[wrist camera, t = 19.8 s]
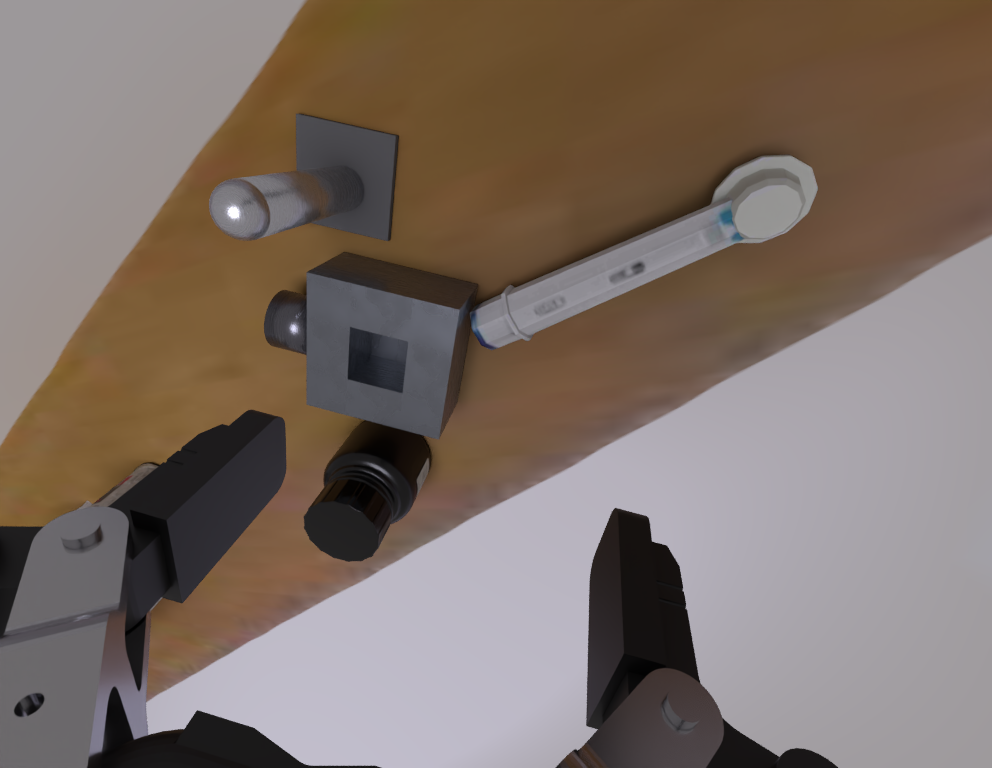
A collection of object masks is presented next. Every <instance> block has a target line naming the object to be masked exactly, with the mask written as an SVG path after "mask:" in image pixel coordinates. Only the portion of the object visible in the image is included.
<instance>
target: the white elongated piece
mask: <svg viewBox="0 0 992 768" xmlns="http://www.w3.org/2000/svg"><path fill="white" fill-rule="evenodd" d="M817 190H818V187H817V184H816V180H815V177H814V174H813V170H812V168H811V167H810V166H808V165H807V164H805V163H803V162H801V161H800V160H798V159H796V158H794V157H793V156H791V155H769V156H760V157H757V158H755V159H753V160H751V161H749V162H747V163H745V164H742V165H740V166H738V167H736V168H735V169H733V170H732V172H731V173H730V174H729V175H728V176H727V177H726V178H725V179H724V180H723V181H722V182H721V183H720V184H719V185H718V186H717V188H716V189H715V191H714V194H713V197H712V201H711V204H710V205H709V206H707V207H704V208H702V209H699V210H697V211H695V212H692V213H690V214H688V215H685V216H683V217H681V218H678V219H676V220H674V221H671V222H669V223H666V224H664V225H662V226H659V227H657V228H655V229H652V230H650V231H648V232H645V233H643V234H641V235H638V236H636V237H634V238H631V239H629V240H626V241H624V242H622V243H619V244H617V245H615V246H612V247H610V248H608V249H605V250H603V251H601V252H598V253H596V254H593V255H591V256H589V257H586V258H584V259H582V260H579V261H577V262H575V263H572V264H570V265H568V266H565V267H563V268H560V269H558V270H556V271H553V272H551V273H549V274H546V275H544V276H542V277H539V278H537V279H535V280H532V281H530V282H527V283H525V284H523V285H520V286H518V287H516V288H515V287H514V286H512V285H509V286H507V288H506V289H505V290H504V291H503V293H502V294H500V295H498V296H496V297H494V298H491V299H489V300H487V301H485V302H483V303H480V304H478V305H476V306H475V307H474V308H473V310H472V311H471V312H470V318H471V326H472V330H473V332H474V334H475V336H476V337H477V339H478V341H479V342H480V344H481V345H482V346H484V347H486V348H488V349H490V350H494V349H496V348H499V347H501V346H504V345H506V344H509V343H511V342H514V341H517V340H519V339H524V340H526V341H529V340H531V338H532V336H533V334H534V333H536V332H538V331H540V330H543V329H545V328H547V327H549V326H551V325H554V324H556V323H558V322H560V321H563V320H565V319H567V318H569V317H572V316H574V315H576V314H578V313H581V312H583V311H585V310H587V309H590V308H592V307H594V306H596V305H598V304H601V303H603V302H605V301H607V300H610V299H612V298H614V297H616V296H619V295H621V294H623V293H625V292H628V291H630V290H632V289H634V288H637V287H639V286H641V285H643V284H645V283H648V282H650V281H652V280H654V279H657V278H659V277H661V276H663V275H666V274H668V273H670V272H672V271H675V270H677V269H679V268H681V267H683V266H686V265H688V264H690V263H692V262H695V261H697V260H699V259H701V258H704V257H706V256H708V255H710V254H713V253H715V252H717V251H719V250H722V249H724V248H726V247H728V246H730V245H733V244H735V243H761V242H764V241H766V240H769V239H771V238H774V237H776V236H779V235H781V234H784V233H786V232H788V231H789V230H790V229H791V228H792V227H793V226H794V225H795V224H797V223H798V222H799V221H800V220H801V219H802V218H803V217H804V216H805V215H806V214H808V213H809V210H810V208H811V205H812V203H813V200H814V198H815V195H816V193H817Z"/></svg>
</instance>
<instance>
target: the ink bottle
mask: <svg viewBox="0 0 992 768" xmlns="http://www.w3.org/2000/svg"><path fill="white" fill-rule="evenodd" d="M430 465H431V456H430V452H429V449H428V447H427V445H426V443H425V441H424V440H423V438H422V437H421V436H420V435H419V434H416V433H413V432H409V431H405V430H401V429H397V428H394V427H390V426H386V425H382V424H379V423H375V422H371V421H365V422H363V423H361V424H360V425H358V426H357V427H356V428H355V429H354V431H353V432H352V433H351V434H350V436H349V437H348V438H347V440H346V441H345V442H344V443H343V445H342V446H341V447H340V449H339V450H338V451H337V452H336V454H335V455H334V456H333V457H332V459H331V460H330V461H329V463H328V465H327V467H326V469H325V472H324V479H323V480H324V488H323V490H322V491H321V492H320V494H319V495H318V497H317V498H316V499H315V501H314V502H313V503H312V505H311V506H310V507H309V510H308V511H307V513H306V514H305V516H304V525H305V526H304V529H305V530H306V532H307V534H308V536H309V539H310V540H311V541H312V542H313V543H314V544H315V545H316V546H317V547H318V548H319V549H320V550H321V551H323V552H325V553H327V554H328V555H330V556H332V557H333V558H337V559H341V560H345V561H348V562H350V561H363V560H364V559H367V558H369V557H372V556H373V554H374V553H375V551H376V550H377V549H378V548H379V546H380V544H381V542H382V540H383V538H384V536H385V534H386V532H387V530H388V528H389V526H390V524H393V523H395V522H397V521H399V520H400V519H402V518H403V517H404V516H405V515H406V514H407V513H408V512H409V511H410V509H411V507H412V505H413V503H414V501H415V499H416V497H417V495H418V493H419V491H420V489H421V487H422V485H423V483H424V481H425V478H426V476H427V474H428V472H429V469H430Z"/></svg>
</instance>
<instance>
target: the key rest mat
mask: <svg viewBox="0 0 992 768" xmlns="http://www.w3.org/2000/svg"><path fill="white" fill-rule="evenodd" d="M398 138H399V136H398V135H393V134H389V133H384V132H380V131H375V130H371V129H366V128H362V127H357V126H353V125H348V124H344V123H339V122H335V121H331V120H326V119H322V118H317V117H313V116H308V115H304V114H296V153H297V171H300V170H308V169H316V168H324V167H332V166H340V165H343V166H347V167H350V168H351V169H353V170H354V171H355V172H356V173H357V174H358V175H359V176H360V178H361V180H362V182H363V185H364V197H363V200H362V202H361V204H360V205H359V206H358V207H357V208H355V209H353V210H350V211H347V212H344V213H341V214H337V215H334V216H331V217H327V218H324V219H321V220H318V221H314V222H311V223H314V224H318V225H322V226H327V227H331V228H335V229H339V230H343V231H348V232H352V233H356V234H360V235H364V236H368V237H373V238H377V239H381V240H385V241H389V240H390V236H391V224H392V212H393V199H394V187H395V175H396V162H397V150H398Z"/></svg>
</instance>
